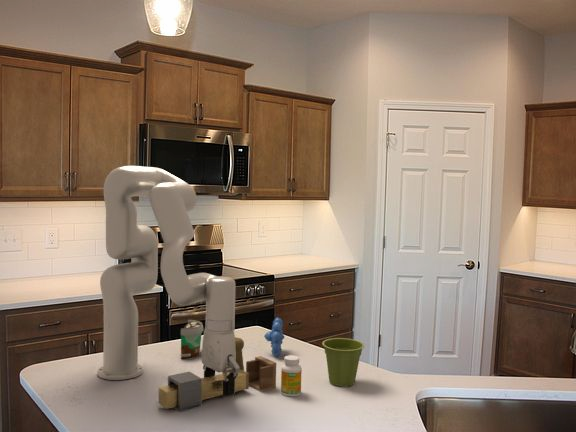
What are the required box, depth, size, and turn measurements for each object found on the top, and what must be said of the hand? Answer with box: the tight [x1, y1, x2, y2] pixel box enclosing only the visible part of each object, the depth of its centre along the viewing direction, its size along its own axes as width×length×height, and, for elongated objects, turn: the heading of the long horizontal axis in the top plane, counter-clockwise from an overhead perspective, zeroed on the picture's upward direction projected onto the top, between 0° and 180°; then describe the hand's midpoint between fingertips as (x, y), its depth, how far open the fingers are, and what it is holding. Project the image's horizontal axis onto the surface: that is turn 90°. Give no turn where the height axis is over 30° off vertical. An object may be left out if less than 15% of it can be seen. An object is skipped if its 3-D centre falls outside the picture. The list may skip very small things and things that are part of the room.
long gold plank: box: [158, 369, 250, 409], centre depth 145 cm, size 4×24×4 cm, turn 129°
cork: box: [225, 336, 245, 373], centre depth 163 cm, size 6×6×11 cm
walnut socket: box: [245, 355, 277, 392], centre depth 156 cm, size 7×5×7 cm
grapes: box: [263, 316, 285, 357], centre depth 185 cm, size 12×7×12 cm, turn 176°
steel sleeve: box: [167, 371, 203, 413], centre depth 141 cm, size 6×6×7 cm
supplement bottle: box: [280, 354, 303, 398], centre depth 151 cm, size 5×5×10 cm
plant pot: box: [321, 337, 365, 388], centre depth 160 cm, size 12×12×11 cm
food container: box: [180, 319, 205, 360], centre depth 182 cm, size 12×6×10 cm, turn 179°
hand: (218, 389), depth 148 cm, fingers open, 9 cm apart
